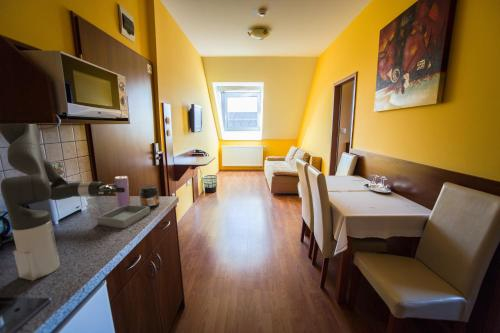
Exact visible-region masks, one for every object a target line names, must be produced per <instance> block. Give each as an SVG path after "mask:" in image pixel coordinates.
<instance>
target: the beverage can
mask: <svg viewBox="0 0 500 333" xmlns="http://www.w3.org/2000/svg"><path fill="white" fill-rule="evenodd" d="M114 183H115V188H125V192H121V193H115V198H116V200H115V201H116V206H117V207H118V208H119V207H125V206H128V205H131V195H130V189H129V185H130V184H129V177H128V175H120V176H119V175H117V176H115V177H114Z"/></svg>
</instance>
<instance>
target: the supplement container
mask: <svg viewBox="0 0 500 333" xmlns="http://www.w3.org/2000/svg"><path fill="white" fill-rule="evenodd" d="M139 191H140V192H139V193H138V194H139V200H140V201H139V202H140V206H147V207H150V209H153V208H157V207H158V206H159V205H160V194H159V193H160V192H159V190H158V185H156V184H146V185H143V186H140V187H139Z"/></svg>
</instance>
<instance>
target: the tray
mask: <svg viewBox="0 0 500 333" xmlns="http://www.w3.org/2000/svg"><path fill="white" fill-rule="evenodd" d="M150 214H151V208H150V207H147V206H141V205H137V204H129V205H128V206H125V207H119V206H118V207H117V208H114V209H112V210H110V211H107V212H106V213H103V214H101V215H99V216H96V221H97V225H99V226H105V227H111V228H118V229H126V228H128V227H130V226H131V225H133V224H135V223H136V222H138V221H140V220H142V219H143V218H145V217H147V216H149V215H150Z"/></svg>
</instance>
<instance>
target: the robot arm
mask: <svg viewBox="0 0 500 333" xmlns="http://www.w3.org/2000/svg"><path fill="white" fill-rule="evenodd" d="M0 134H1V136H2V137H3V138H4V140H5V141H6V142H7V143H8V145H9V146H8V148H7V151H6V152H7V153H6V154H7V162H8V164H9V165H10V167H12V168H13V169H14V170H15V171H18V172H20V173H23V174H24V175H18V176H10V177H5V178H3V179H2V180H1V181H0V192H1V196H2V199H3V201H4V202H3V203H4V205H5V208H6V212H7V214H8V218H9V219H8V220H9V223H10V228H11V231H12V235H13V239H14V244H15V250H14V251H13V256H14V260H15V264H16V268H17V272H18V276H19V279H25V280H28V281H32V282H33V281H35V280H37V279H40V278H43V277H45V276H47V275H49V274H52V273H53V272H55V271H56V270H57V269H58V268H59V267H60V265H61V263H60V258H59V252H58V247H57V243H56V237H55V233H54V228H53V223H52V222H53V221H52V218H51V213H50V212H49V211H48V210H43V209H39V210H38V209H30V208H28V207H27V208H26V207H24V206H27V205H32V204H36V203H37V204H39V203H42V202H45V201H48V200H50V199H51V201H60V200H64V199H69V198H72V197H83V198H84V197H85V198H86V197H87V198H90V197H92V198H93V197H94V198H95V197H96V198H97V197H102V196H109V195H110V196H111V195H114V194H116V193H121V192H125V188H115V182H112V183H107V184H105V183H104V182H103V181H86V182H85V181H83V182H70V183H69V182H67V180H65V179H64V178H63V177H62V176H61V175H60V174H59V173H58V172H57V171H56V169H55V168H54V167H55V166H53V165H52V163H51V162H50V161H49V160H48V159H46V158H45V157H44V154H43V150H42V147H41V141H40V139H41V135H40V134H41V133H40V129H39V127H38V125H37V123H36V124H0ZM129 190H131V185H130V184H129Z"/></svg>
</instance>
